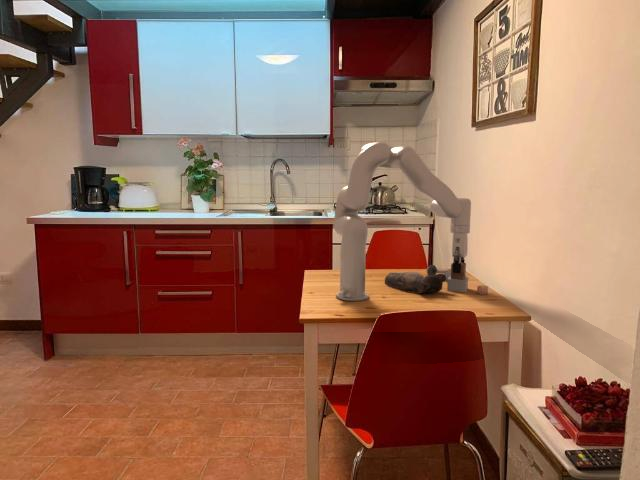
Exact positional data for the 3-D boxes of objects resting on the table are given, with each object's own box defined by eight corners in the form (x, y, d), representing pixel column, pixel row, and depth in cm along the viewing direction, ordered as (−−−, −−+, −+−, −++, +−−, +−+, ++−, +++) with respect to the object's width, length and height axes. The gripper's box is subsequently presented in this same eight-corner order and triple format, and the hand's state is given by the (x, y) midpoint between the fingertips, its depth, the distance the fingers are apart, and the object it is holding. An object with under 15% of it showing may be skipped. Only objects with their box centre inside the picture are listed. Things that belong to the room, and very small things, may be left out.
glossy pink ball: (487, 295, 185) (487, 288, 185) (476, 294, 187) (476, 287, 186) (488, 293, 189) (488, 285, 188) (477, 292, 190) (478, 285, 190)
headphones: (439, 282, 204) (472, 284, 214) (441, 268, 203) (474, 271, 213) (412, 274, 219) (444, 276, 229) (414, 262, 218) (446, 265, 228)
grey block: (465, 292, 190) (465, 280, 189) (447, 291, 193) (447, 278, 192) (467, 288, 196) (468, 277, 195) (450, 287, 199) (450, 275, 198)
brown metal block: (463, 279, 190) (463, 265, 189) (450, 278, 192) (451, 264, 192) (465, 277, 195) (465, 262, 194) (452, 276, 197) (453, 262, 196)
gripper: (466, 231, 181) (465, 275, 184) (472, 227, 197) (470, 267, 200) (446, 230, 185) (445, 274, 187) (453, 226, 200) (452, 266, 203)
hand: (458, 270), depth 193 cm, fingers open, 9 cm apart
